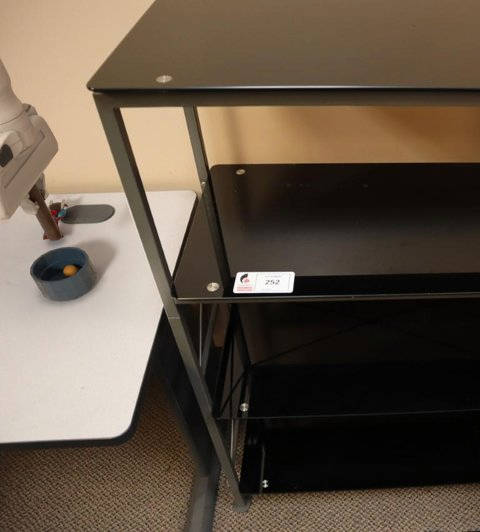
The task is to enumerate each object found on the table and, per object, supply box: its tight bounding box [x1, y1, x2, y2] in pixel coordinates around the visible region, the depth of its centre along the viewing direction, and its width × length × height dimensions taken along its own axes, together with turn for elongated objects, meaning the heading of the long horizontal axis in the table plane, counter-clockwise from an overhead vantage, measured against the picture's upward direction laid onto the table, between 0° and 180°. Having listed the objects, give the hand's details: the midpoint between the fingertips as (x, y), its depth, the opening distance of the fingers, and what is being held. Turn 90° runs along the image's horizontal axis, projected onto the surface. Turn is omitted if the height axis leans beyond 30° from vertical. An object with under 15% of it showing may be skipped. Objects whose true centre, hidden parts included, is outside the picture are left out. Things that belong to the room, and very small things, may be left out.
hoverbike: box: [42, 198, 69, 241], centre depth 108 cm, size 5×12×6 cm, turn 17°
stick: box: [28, 183, 63, 242], centre depth 85 cm, size 2×2×15 cm
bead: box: [63, 265, 78, 277], centre depth 99 cm, size 2×2×2 cm
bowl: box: [29, 246, 98, 302], centre depth 97 cm, size 10×10×6 cm
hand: (37, 205), depth 85 cm, fingers closed on stick, 2 cm apart
